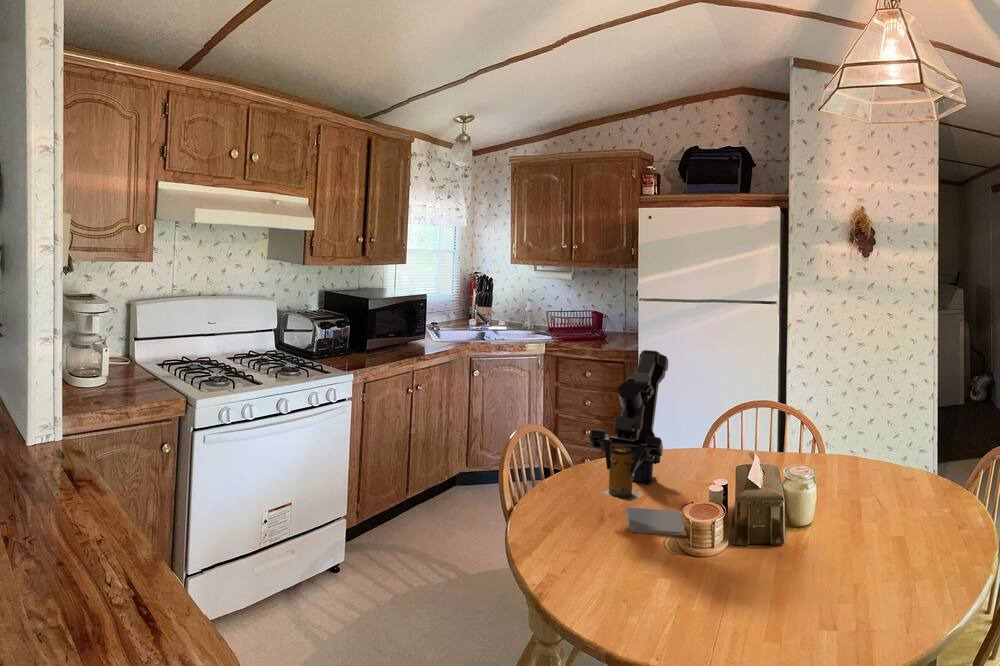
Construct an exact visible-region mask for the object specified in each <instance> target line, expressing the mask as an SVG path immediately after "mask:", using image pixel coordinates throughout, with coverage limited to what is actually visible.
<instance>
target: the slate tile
mask: <svg viewBox="0 0 1000 666" xmlns="http://www.w3.org/2000/svg"><path fill="white" fill-rule="evenodd" d="M625 514H626V520H627V524H628V525H629V526H628V531H629V530H630V531H629V533H633V532H639V533H638V534H647V533H654V534H653V535H661V534H669V535H668V536H675V534H681V533H682V531H683V523H684V520H683V518H682V515H681V513H680V511H679V510H669V509H655V508H653V509H652V508H641V507H629V506H628V507H625Z"/></svg>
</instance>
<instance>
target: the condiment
mask: <svg viewBox="0 0 1000 666" xmlns="http://www.w3.org/2000/svg"><path fill="white" fill-rule="evenodd" d="M632 453H633V451H632V449H630V448H629V447H628V446H627V447H626V446H614V447H613V448H612V458H611V459H610V468H609V470H608V471H609V476H608V489H607V490H605V491H602V492H601V494H603V495H607V496H609V497H613V498H617V499H619V500H622V501H626V502H632V501H634V500H637V499H639V498H641V497H642V496H644V494H643V493H640V492H637V491H633V482H634V481H633V475H634V473H633V474H632V473H631V470H632V465H633V462H634V461H633V459H632V458H633V455H632Z"/></svg>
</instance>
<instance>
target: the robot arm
mask: <svg viewBox="0 0 1000 666" xmlns="http://www.w3.org/2000/svg"><path fill="white" fill-rule="evenodd" d="M640 352H641V353H640V354H639V356H638V364H637V367H636V370H635V372H634V373H633V374H631V375H628V377H627V379H626V380H625V381H624V382H622V383H621V384H620V385H619V386H618V389H617V393H618V397H619V403H620V406H621V408H622V410H621V414H620V416H619V415H617V416H615V418H614V420H615V421H614V425H613V428H614V434H615V435H616V436H612V435H610V434H608V433H607V430H604V429H597V428H593V429H592V430H591V431H590V433H589V437H588V438H589V439H590V443H591V446H592V447H593V448H596V449H597V448H598V449H600V450H601V451H602V452H604V456H605V462H606V469H607V471H610V459H611V458H612V449H613V448H612V445H618V446H624V447H626V446H627V447H628V448H630V449H632V451H633V453H632V455H633V458H632V459H633V465H632V470H631V473H632V474H633V482H636V483H641V484H644V485H650V484H652V483H653V482H655V481H656V480H657V477H655V476H653V471H654V465H657V464H660V463H661V457H662V456H663V451H664V445H663V441H662V439H661V437H657V436H656V435H655V432H654V427H655V426H654V425H655V424H654V423H655V417H656V411H657V410H656V409H657V408H656V407H657V401H658V393H659V384H660V383H661V382H662V381H663V380H664V379H665V377H666V371H667V372H668V370H669V359H668V357H667V356H666V355H665V354H662V353H660V352H659V351H657V350H650V349H644V350H641V351H640Z"/></svg>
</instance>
